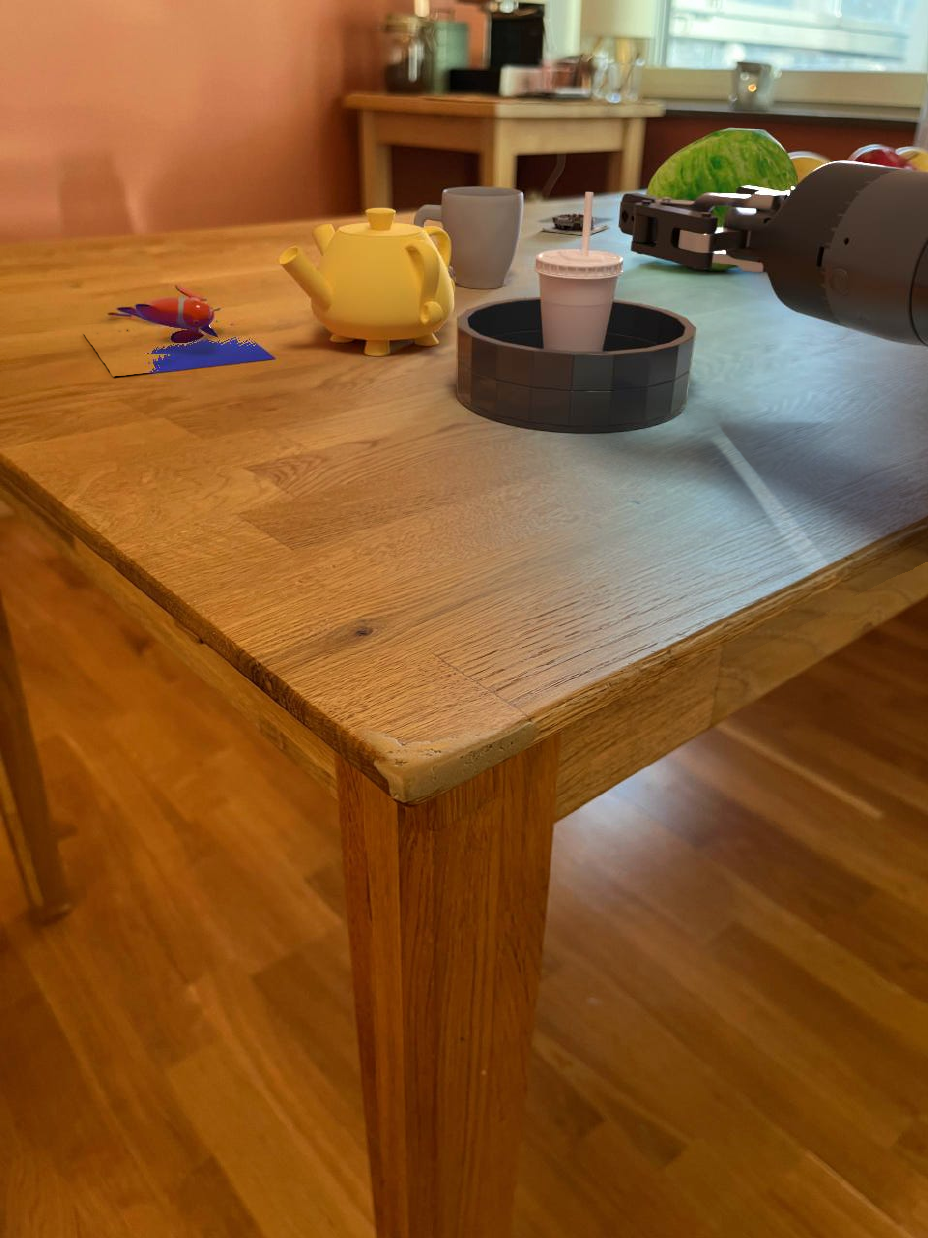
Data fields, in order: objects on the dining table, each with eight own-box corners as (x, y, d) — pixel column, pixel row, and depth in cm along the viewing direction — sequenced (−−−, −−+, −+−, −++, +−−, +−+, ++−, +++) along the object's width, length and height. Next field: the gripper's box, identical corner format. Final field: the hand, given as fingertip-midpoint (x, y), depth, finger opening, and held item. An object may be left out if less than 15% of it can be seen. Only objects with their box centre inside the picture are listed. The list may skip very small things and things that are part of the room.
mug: (521, 276, 114) (524, 187, 110) (518, 293, 107) (522, 197, 102) (418, 273, 115) (417, 184, 110) (409, 289, 108) (407, 194, 103)
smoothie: (566, 406, 72) (580, 200, 65) (511, 384, 76) (519, 189, 69) (629, 392, 75) (649, 193, 68) (573, 371, 79) (586, 183, 72)
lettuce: (705, 245, 133) (634, 145, 125) (843, 180, 118) (771, 62, 110) (665, 330, 126) (586, 230, 118) (805, 274, 110) (725, 154, 103)
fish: (234, 291, 81) (127, 301, 77) (240, 349, 83) (136, 361, 80) (195, 264, 91) (98, 271, 87) (201, 316, 93) (108, 325, 90)
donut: (562, 223, 150) (563, 208, 148) (610, 228, 146) (611, 213, 145) (538, 230, 143) (539, 215, 142) (587, 235, 140) (588, 220, 139)
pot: (658, 362, 84) (665, 296, 81) (712, 432, 69) (724, 354, 66) (452, 362, 83) (453, 295, 80) (461, 433, 68) (462, 354, 65)
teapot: (320, 318, 96) (312, 194, 90) (459, 323, 95) (461, 198, 89) (284, 360, 83) (272, 219, 78) (444, 365, 82) (444, 224, 77)
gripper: (1010, 163, 49) (782, 136, 61) (791, 176, 43) (589, 143, 55) (969, 317, 52) (762, 262, 65) (762, 347, 47) (580, 281, 59)
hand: (682, 207), depth 60 cm, fingers open, 8 cm apart
